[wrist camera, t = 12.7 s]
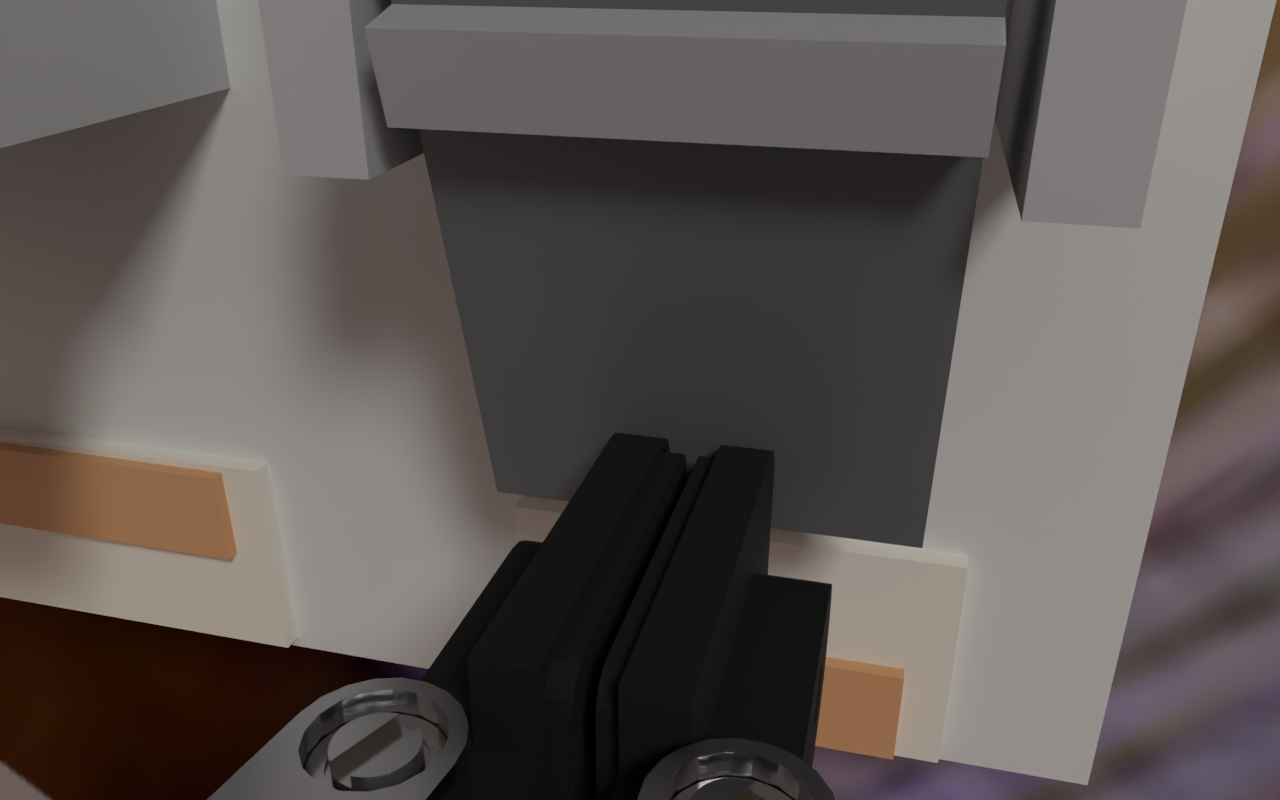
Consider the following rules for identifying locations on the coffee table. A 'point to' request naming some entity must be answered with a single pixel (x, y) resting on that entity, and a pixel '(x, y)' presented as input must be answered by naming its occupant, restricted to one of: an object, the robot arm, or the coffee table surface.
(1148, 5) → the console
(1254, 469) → the coffee table surface
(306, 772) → the robot arm
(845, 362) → the rocker
